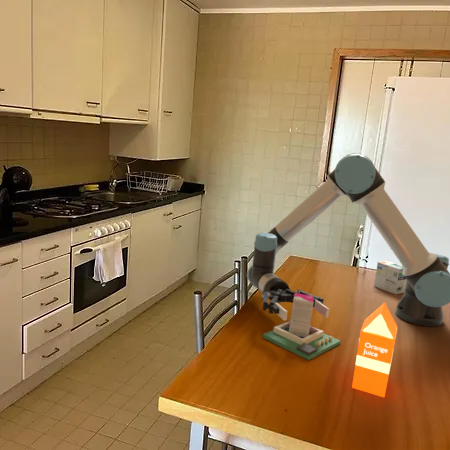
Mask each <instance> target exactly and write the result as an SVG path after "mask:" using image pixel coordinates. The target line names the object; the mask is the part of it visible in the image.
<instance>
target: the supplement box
mask: <svg viewBox="0 0 450 450" xmlns="http://www.w3.org/2000/svg"><path fill="white" fill-rule="evenodd" d="M313 303H314V296H310V295H304V294H298V293H295V294H294V299H293V303H292V308H291V314H290V319H289V321H290V326H289V333H292V334H294V335H296V336H298V337H300V338H305V337H307V336H308V335H309V329H310V326H311V321H312V314H313V311H314V307H313Z"/></svg>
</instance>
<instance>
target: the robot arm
mask: <svg viewBox="0 0 450 450" xmlns="http://www.w3.org/2000/svg"><path fill="white" fill-rule="evenodd" d="M385 185H386V181H385V180H384V178H383V177H382V175H381V173H380V172H379V171H378V169H377V168H376V167H375V164H374V163H373V160H371V158H369V157H368V156H367V155H364V153H359V152H354V153H350V154H346V155H345V156H343V157H342V158H341V159H340V160H339V161H338V163H336V166H335V168H334V169H333V170H332V171H331V172H330V173H329V174H328V175H327V180H325V181H324V182H323V183H322V185H320V186H318V187H317V189H315V190H314V191H313V192H312V193H311V194H310V195H309V196H307V198H305V199H304V200H303V201H302V202H300V204H299V205H297V206H296V207H295V208H294V209H293V210H291V212H290V213H289V214H287V215H286V216H285V217H284V218H283V219H282V220H281V221H280V222H279V223H277V224H276V225H275V226H274V227H272V228H271V230H270V231H268V232H260V233H257V234H256V235H255V240H254V244H253V245H254V248H253V257H252V264H251V266H249V268H248V270H247V271H246V278H247V279H248V281H249V282H250V284H251V285H252V286H253V287H255V288H256V289H257V290H259V292H261V300H262V310H263V311H267V310H268V313H269V314H273V313H274V314H276V315H277V316H278V317H280V319H281V320H283V321H284V322H285V321H287V320H288V310H287V309H285V308H284V307H283V306H282V305H280V303H291V304H293V300H294V294H295V293H298V294H304V295H310V296H314V303H313V310H315V311H317V312H318V313H319V314H320V315H322V316H323V317H324V318H329V313H330V308H329V307H328V306H326V305H325V304H324V301H325V300H324V298H323V297H320V296H317V295H314V294H311V293H309V292H306V291H304V290H302V289H299V288H298V289H297V291H295V290H292V289H291V288H290V286H289V285H288V283H287V282H286V281H284V280H283V279H282V278H280V277H279V276H278V275H276V274H275V273H274V272H275V270H274V269H275V263H276V255H277V254H278V253H279V251H280V250H281V249H282V248H284V247H285V246H286V245H287V244H288V243H289V242H290V241H291V240H292V239H294V238H295V237H297V235H298V234H300V233H301V232H302V231H303V230H305V228H307V227H308V226H309V225H310V224H312V222H314V221H315V220H316V219H317V218H318V217H320V216H321V215H322V214H323V213H325V211H326V210H328V209H329V208H330V207H331V206H332V205H334V204H335V203H336V202H337V201H338V200H339V199H341V198H342V197H348V198H349V200H350V201H351V203H352V204H355V205H358V206H360V207H361V208H362V210H363V212H365V214H366V216H367V217H368V219H370V222H371V223H372V224H373V225H374V227H375V229H376V230H377V231H378V233H379V234H380V235H381V236H382V237H381V238H382V239H383V240H384V241H385V242H386V244H387V245H388V247H389V248H390V250H392V251H391V252H392V253H393V254H394V256H395V257H396V258H397V259H398V261H399V263H400V265H402V266H403V267H404V268H403V272H402V274H403V275H404V277H405V278H406V280H407V282H406V288H405V293H402V294H403V295H401V298H400V299H399V302H398V303H397V305H396V308H395V314H396V316H397V317H398V318H399V319H401V320H404V321H405V322H408V323H410V324H414V325H417V326H423V327H439V326H441V325H443V321H444V311H443V307H444V306H447V305H449V304H450V271H449V270H448V267H449V265H450V259H449V257H447V256H446V255H442V254H437V253H433V252H429V251H428V249H427V248H426V246H425V245H424V243H423V242H422V241H421V239H420V238H419V236H417V234H416V232H415V231H414V230H413V228H412V227H411V225H410V224H409V223H408V221H407V220H406V218H405V217H404V215H403V214H402V212H401V211H400V210H399V208H398V207H397V205H396V204H395V203H394V201H393V200H392V198H391V196H389V194H388V193H387V191H386V189H385ZM269 300H270V301H269ZM287 322H288V321H287Z"/></svg>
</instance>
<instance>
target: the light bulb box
mask: <svg viewBox="0 0 450 450" xmlns="http://www.w3.org/2000/svg"><path fill="white" fill-rule="evenodd" d="M403 268H404V267H403V265H402V264H398V263H395V262H392V261H391V260H390V261H389V260H381V261H377V264H376V271H375V278H374V283H373V287H375V288H379V289H380V290H383V291H385V292H387V293H391V294H394V295H398V294H404V293H405V288H406V282H407V280H406V278H405V277H404V275H403V274H402V272H403Z"/></svg>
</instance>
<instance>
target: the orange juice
mask: <svg viewBox="0 0 450 450" xmlns="http://www.w3.org/2000/svg"><path fill="white" fill-rule="evenodd" d="M397 333H398V325H397V323H396V321H395V320H394V317H393V316H392V314H391V312H390V310H389V307H388V306H387V304H386V302H385V301H384V302H383V303H382V304H381V305H379V307H377V308H376V309H375V310H374V311H373V312H372V313H370V315H368V316H367V317H366V318H365V319H364V321H363V324H362V327H361V329H360V335H359V338H358V346H357V353H356V359H355V363H354V364H355V365H354V371H353V379H352V385H351V388H352V389H355V390H358V391H361V392H366V393H368V394H370V395H371V394H372V395H374V396H378V397H382V398H385V396H386V391H387V388H388V387H387V386H388V381H389V376H390V371H391V366H392V360H393V354H394V348H395V343H396V339H397Z"/></svg>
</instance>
